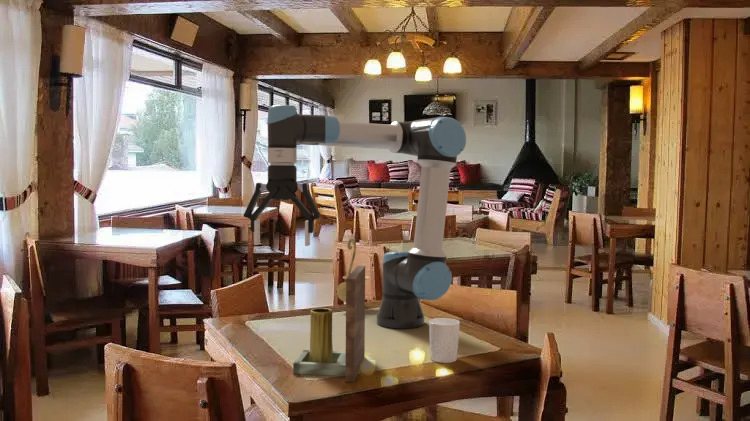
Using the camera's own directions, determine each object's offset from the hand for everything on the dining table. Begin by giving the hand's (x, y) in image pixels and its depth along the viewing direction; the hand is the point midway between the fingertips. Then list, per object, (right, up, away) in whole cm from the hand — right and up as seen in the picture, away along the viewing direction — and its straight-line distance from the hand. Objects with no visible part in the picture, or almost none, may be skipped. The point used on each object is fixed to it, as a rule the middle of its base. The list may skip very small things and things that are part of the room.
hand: (282, 245), depth 172 cm
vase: (+11, -30, -12) cm, 34 cm away
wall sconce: (+17, -26, +57) cm, 64 cm away
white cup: (+42, -30, -4) cm, 52 cm away
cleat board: (+13, -30, -12) cm, 35 cm away
